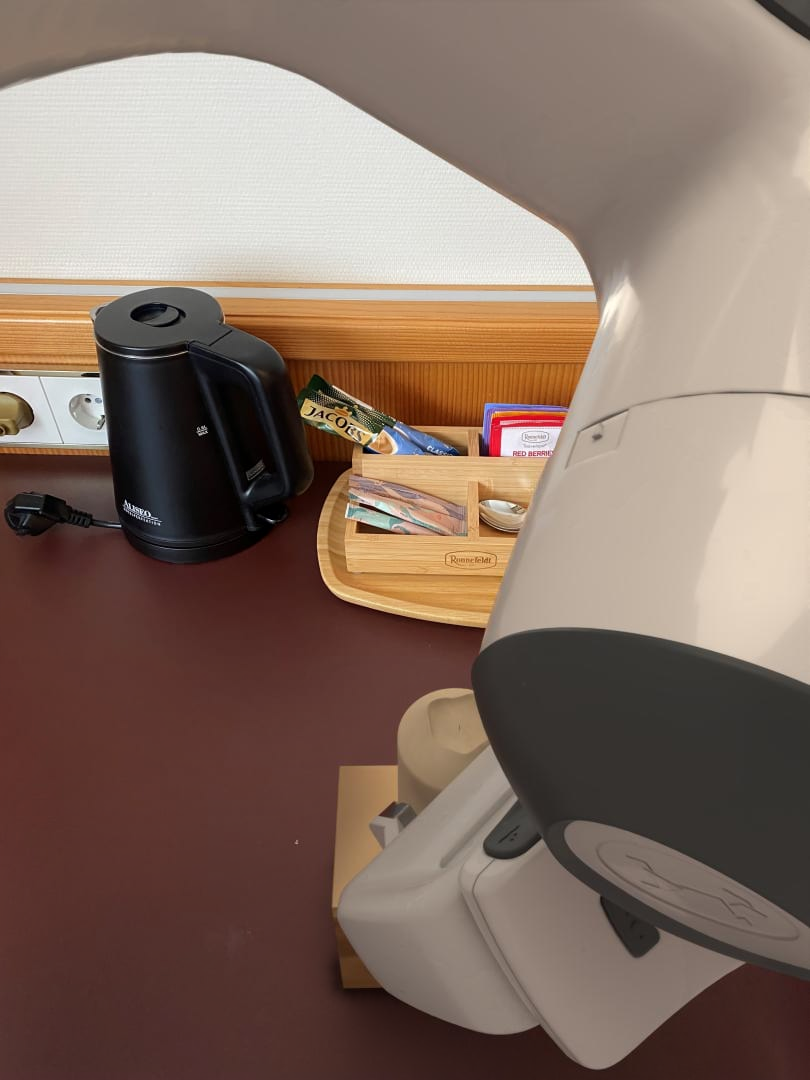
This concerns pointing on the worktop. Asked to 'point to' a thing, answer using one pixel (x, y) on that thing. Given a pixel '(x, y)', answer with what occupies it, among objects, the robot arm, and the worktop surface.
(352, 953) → the wooden crate-shaped block
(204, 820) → the worktop surface
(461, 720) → the candle
